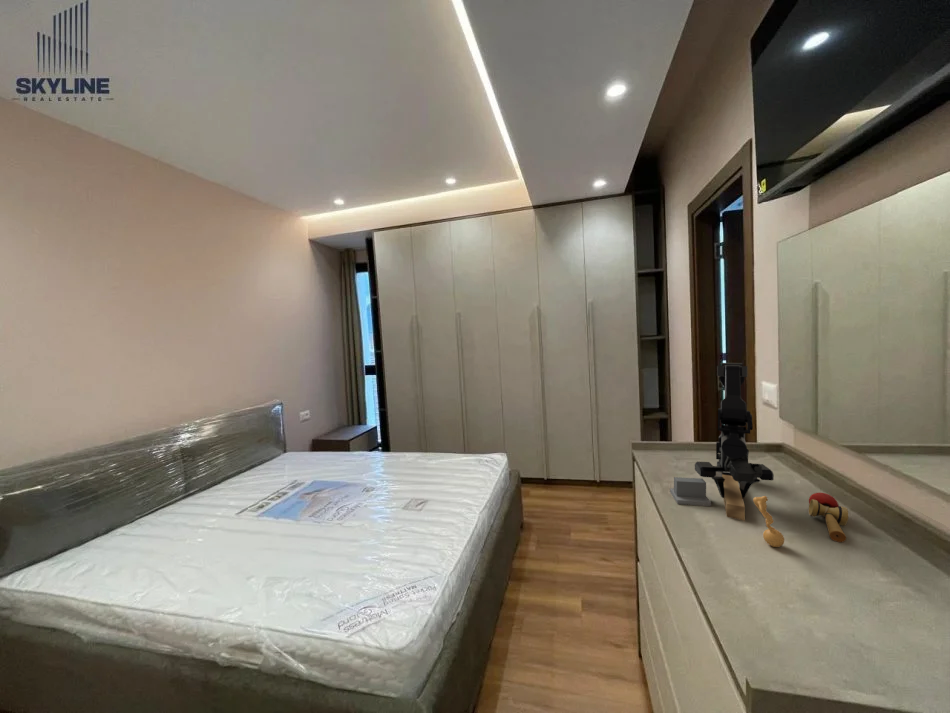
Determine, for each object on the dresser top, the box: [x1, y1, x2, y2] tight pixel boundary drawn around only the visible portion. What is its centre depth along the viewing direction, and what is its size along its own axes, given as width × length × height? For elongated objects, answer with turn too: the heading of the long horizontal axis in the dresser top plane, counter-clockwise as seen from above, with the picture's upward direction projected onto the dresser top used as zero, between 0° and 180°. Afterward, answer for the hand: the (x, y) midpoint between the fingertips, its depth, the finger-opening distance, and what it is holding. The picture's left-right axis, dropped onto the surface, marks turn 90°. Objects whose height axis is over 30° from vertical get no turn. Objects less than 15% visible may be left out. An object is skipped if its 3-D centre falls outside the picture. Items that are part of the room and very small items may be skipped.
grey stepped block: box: [669, 476, 712, 507], centre depth 112 cm, size 9×8×6 cm
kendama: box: [808, 492, 849, 543], centre depth 95 cm, size 8×6×18 cm
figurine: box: [752, 495, 785, 548], centre depth 88 cm, size 8×6×12 cm
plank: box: [722, 474, 746, 521], centre depth 109 cm, size 4×22×4 cm, turn 149°
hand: (732, 498), depth 109 cm, fingers closed on plank, 5 cm apart
